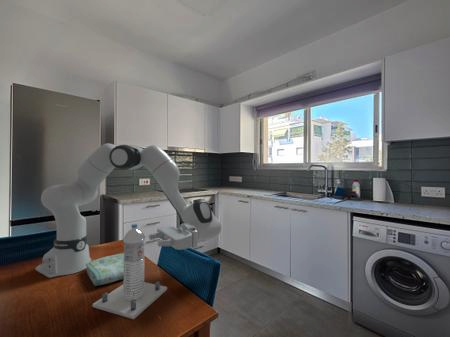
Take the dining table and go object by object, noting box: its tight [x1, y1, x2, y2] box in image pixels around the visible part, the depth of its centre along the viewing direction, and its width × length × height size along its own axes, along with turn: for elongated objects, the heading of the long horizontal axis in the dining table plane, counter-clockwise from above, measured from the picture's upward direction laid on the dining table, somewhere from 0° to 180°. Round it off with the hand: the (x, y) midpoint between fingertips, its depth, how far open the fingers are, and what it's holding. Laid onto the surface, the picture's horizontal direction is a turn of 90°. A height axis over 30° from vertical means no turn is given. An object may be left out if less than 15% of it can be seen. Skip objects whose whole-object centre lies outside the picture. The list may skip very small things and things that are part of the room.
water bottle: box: [122, 223, 146, 301], centre depth 74 cm, size 7×7×25 cm
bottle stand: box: [92, 280, 168, 320], centre depth 75 cm, size 17×17×4 cm
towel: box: [86, 252, 124, 287], centre depth 94 cm, size 18×21×5 cm
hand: (153, 240), depth 80 cm, fingers open, 8 cm apart
